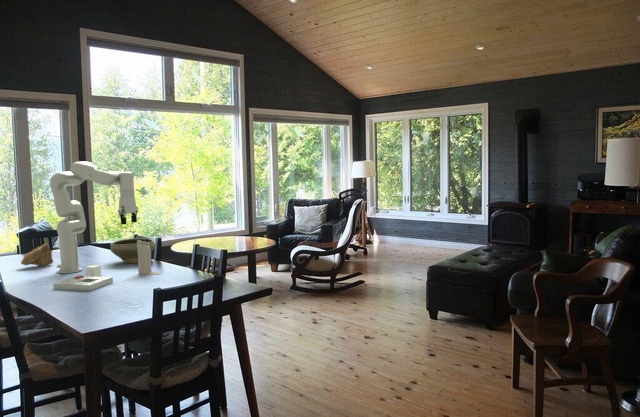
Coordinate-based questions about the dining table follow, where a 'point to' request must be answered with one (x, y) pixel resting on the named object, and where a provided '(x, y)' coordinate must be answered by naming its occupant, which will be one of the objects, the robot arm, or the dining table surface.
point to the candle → (144, 258)
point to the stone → (38, 256)
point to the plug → (93, 270)
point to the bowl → (129, 249)
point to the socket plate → (83, 283)
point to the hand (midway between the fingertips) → (129, 223)
